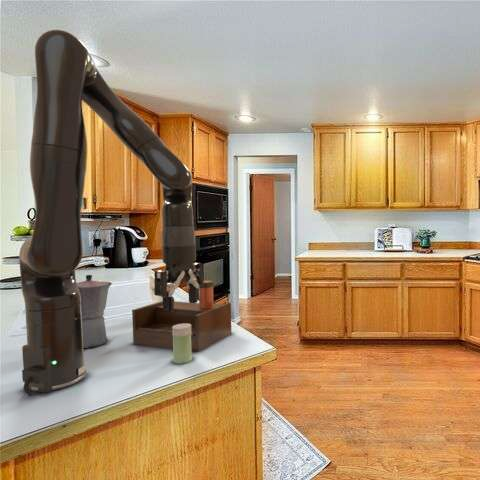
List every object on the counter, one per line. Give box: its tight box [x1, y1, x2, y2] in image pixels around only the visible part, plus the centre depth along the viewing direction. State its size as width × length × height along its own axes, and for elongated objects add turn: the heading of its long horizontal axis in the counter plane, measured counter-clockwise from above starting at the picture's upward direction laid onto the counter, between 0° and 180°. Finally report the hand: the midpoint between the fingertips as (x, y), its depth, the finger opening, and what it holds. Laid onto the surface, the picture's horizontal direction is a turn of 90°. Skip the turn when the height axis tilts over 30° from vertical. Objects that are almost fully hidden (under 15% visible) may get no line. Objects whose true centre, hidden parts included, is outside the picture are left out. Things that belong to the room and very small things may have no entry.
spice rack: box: [131, 297, 232, 352], centre depth 106 cm, size 15×22×10 cm
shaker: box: [172, 323, 193, 365], centre depth 90 cm, size 4×4×9 cm
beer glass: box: [148, 274, 172, 304], centre depth 129 cm, size 7×7×15 cm
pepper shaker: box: [198, 279, 214, 309], centre depth 108 cm, size 4×4×8 cm
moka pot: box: [76, 274, 113, 349], centre depth 100 cm, size 10×15×20 cm, turn 164°
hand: (181, 306), depth 90 cm, fingers open, 8 cm apart
